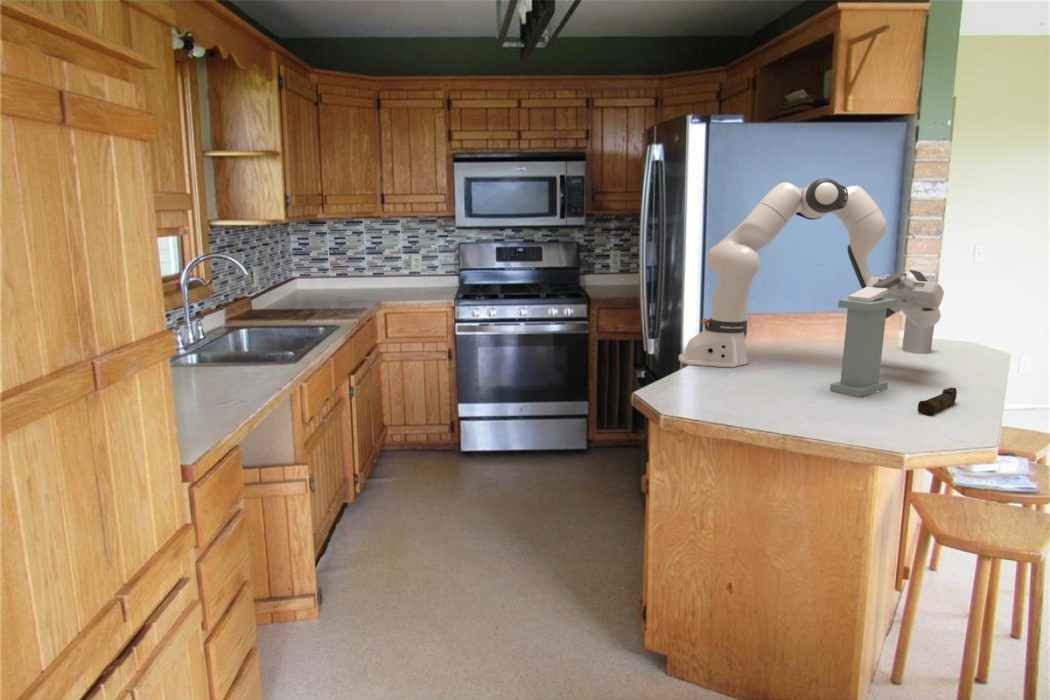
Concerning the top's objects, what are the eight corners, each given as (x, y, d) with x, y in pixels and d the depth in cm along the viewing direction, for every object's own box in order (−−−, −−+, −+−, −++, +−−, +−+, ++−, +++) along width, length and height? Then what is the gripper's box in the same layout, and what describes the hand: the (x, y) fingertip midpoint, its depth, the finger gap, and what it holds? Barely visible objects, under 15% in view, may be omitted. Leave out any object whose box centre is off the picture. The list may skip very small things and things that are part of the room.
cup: (904, 352, 259) (908, 319, 256) (899, 347, 267) (903, 315, 265) (933, 354, 256) (937, 320, 253) (927, 349, 264) (931, 316, 262)
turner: (869, 302, 197) (869, 296, 197) (848, 300, 202) (848, 293, 201) (912, 279, 211) (912, 273, 210) (891, 278, 215) (891, 272, 215)
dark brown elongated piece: (932, 417, 183) (934, 400, 182) (916, 413, 186) (918, 396, 185) (965, 405, 195) (967, 388, 194) (949, 402, 198) (951, 385, 197)
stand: (860, 397, 200) (870, 303, 195) (830, 390, 207) (838, 300, 202) (887, 389, 209) (897, 299, 204) (857, 382, 216) (866, 295, 211)
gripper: (880, 284, 227) (862, 264, 218) (950, 291, 211) (934, 270, 202) (873, 303, 226) (855, 283, 218) (942, 311, 210) (926, 290, 202)
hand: (894, 277), depth 210 cm, fingers closed on turner, 3 cm apart
